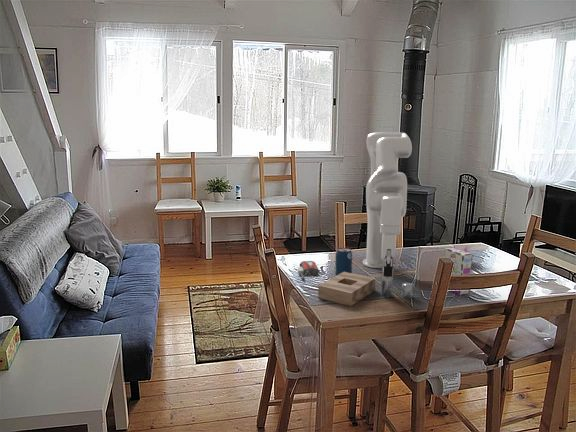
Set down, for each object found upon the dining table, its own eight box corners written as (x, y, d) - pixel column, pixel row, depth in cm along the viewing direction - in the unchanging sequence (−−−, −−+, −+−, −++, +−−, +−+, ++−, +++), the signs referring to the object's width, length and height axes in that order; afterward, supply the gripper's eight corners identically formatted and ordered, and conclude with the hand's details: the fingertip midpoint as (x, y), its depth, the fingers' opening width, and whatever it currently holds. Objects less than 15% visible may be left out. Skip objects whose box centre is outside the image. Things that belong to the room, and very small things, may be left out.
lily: (470, 261, 250) (461, 243, 251) (486, 259, 239) (477, 239, 240) (451, 272, 246) (442, 253, 247) (467, 270, 235) (457, 250, 236)
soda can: (354, 277, 224) (355, 250, 221) (341, 280, 220) (342, 252, 217) (345, 273, 229) (345, 246, 227) (331, 275, 226) (332, 248, 223)
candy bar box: (470, 294, 206) (473, 253, 202) (459, 295, 204) (463, 255, 200) (451, 284, 216) (454, 246, 212) (441, 286, 214) (444, 247, 211)
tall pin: (384, 292, 207) (385, 265, 205) (393, 294, 205) (395, 267, 202) (379, 295, 204) (381, 268, 201) (389, 297, 202) (390, 270, 199)
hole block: (343, 283, 217) (344, 271, 216) (374, 290, 209) (375, 278, 208) (318, 297, 201) (318, 285, 200) (350, 306, 193) (351, 293, 192)
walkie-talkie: (295, 267, 238) (300, 282, 219) (295, 257, 237) (300, 272, 218) (314, 266, 239) (321, 281, 220) (314, 257, 238) (322, 271, 219)
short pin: (403, 294, 205) (404, 281, 204) (413, 296, 203) (414, 284, 202) (399, 297, 202) (400, 284, 201) (409, 299, 200) (410, 287, 199)
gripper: (380, 223, 207) (378, 265, 211) (379, 233, 191) (377, 278, 194) (400, 224, 206) (398, 266, 209) (400, 234, 189) (398, 280, 193)
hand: (388, 272), depth 202 cm, fingers open, 9 cm apart
